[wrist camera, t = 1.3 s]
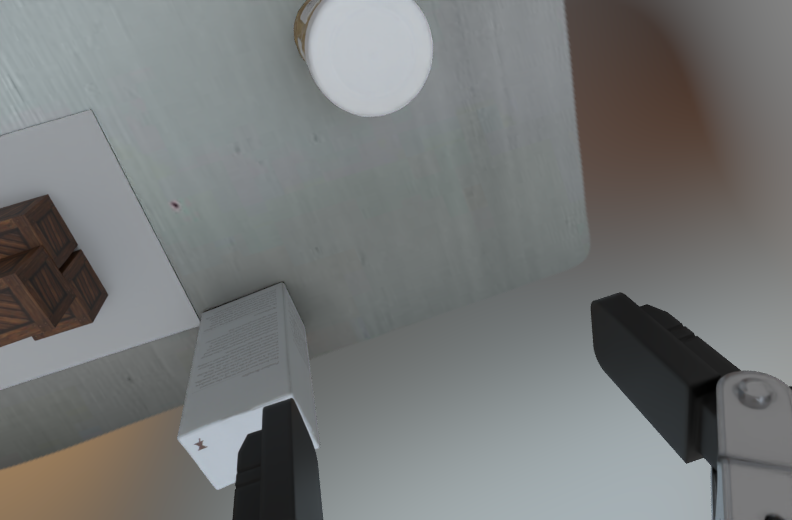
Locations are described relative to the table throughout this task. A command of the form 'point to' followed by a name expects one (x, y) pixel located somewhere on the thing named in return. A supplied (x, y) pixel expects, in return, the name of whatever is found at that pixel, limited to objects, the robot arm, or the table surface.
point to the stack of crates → (76, 255)
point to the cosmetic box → (244, 378)
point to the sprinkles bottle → (365, 52)
